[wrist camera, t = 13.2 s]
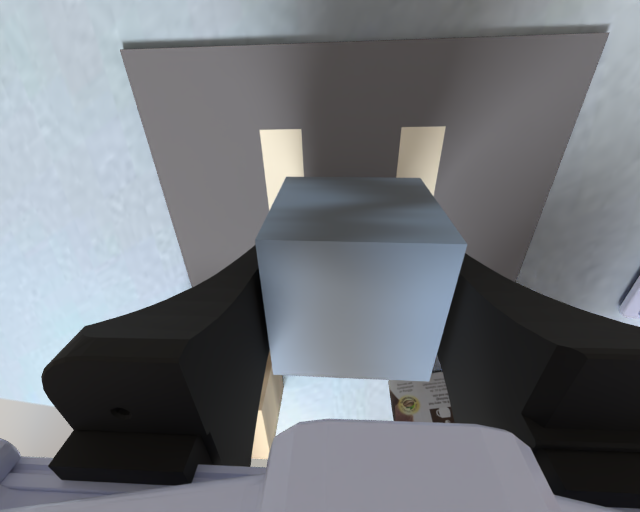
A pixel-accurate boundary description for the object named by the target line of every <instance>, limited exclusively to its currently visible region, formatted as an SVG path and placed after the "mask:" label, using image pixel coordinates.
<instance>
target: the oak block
mask: <svg viewBox="0 0 640 512" xmlns="http://www.w3.org/2000/svg"><path fill="white" fill-rule="evenodd" d="M283 388H284V386H283V378H282V375H273V369H272V362H271V355H270V351H269V355H268V359H267V363H266V369H265V375H264V380H263V386H262V392H261V398H260V404H259V410H258V416H257V423H256V429H255V436H254V443H253V450H252V458H255V459H268V456H269V452H270V449H271V445H272V442H273V439H274V437H275V434H276V429H277V423H278V417H279V411H280V406H281V400H282V394H283Z"/></svg>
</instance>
